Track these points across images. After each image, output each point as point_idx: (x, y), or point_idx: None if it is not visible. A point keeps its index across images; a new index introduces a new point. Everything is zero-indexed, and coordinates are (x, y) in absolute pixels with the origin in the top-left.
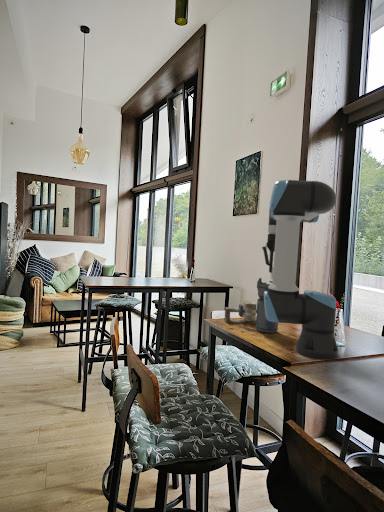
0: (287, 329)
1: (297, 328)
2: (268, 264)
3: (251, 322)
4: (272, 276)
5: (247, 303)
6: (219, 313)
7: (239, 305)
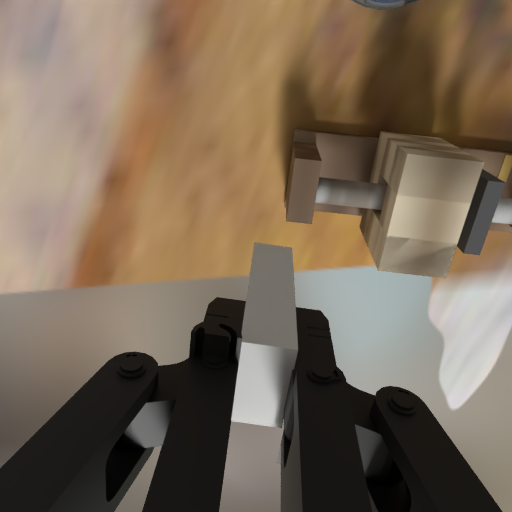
0: (219, 3)
1: (143, 40)
2: (389, 393)
3: None
4: (284, 262)
5: (465, 186)
6: (463, 375)
7: (482, 238)
